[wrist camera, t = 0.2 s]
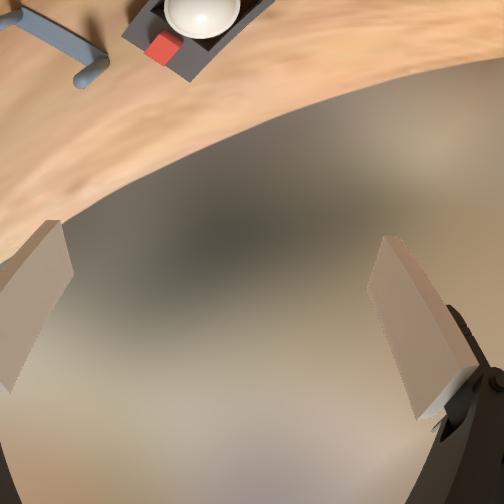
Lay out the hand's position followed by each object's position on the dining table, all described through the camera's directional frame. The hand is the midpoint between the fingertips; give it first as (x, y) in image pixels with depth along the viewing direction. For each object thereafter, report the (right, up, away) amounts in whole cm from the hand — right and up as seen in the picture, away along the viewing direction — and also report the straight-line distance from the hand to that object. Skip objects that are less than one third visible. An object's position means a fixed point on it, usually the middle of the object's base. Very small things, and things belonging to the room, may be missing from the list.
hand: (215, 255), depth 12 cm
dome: (-3, +23, +10) cm, 26 cm away
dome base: (-4, +24, +13) cm, 28 cm away
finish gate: (-20, +24, +12) cm, 34 cm away
